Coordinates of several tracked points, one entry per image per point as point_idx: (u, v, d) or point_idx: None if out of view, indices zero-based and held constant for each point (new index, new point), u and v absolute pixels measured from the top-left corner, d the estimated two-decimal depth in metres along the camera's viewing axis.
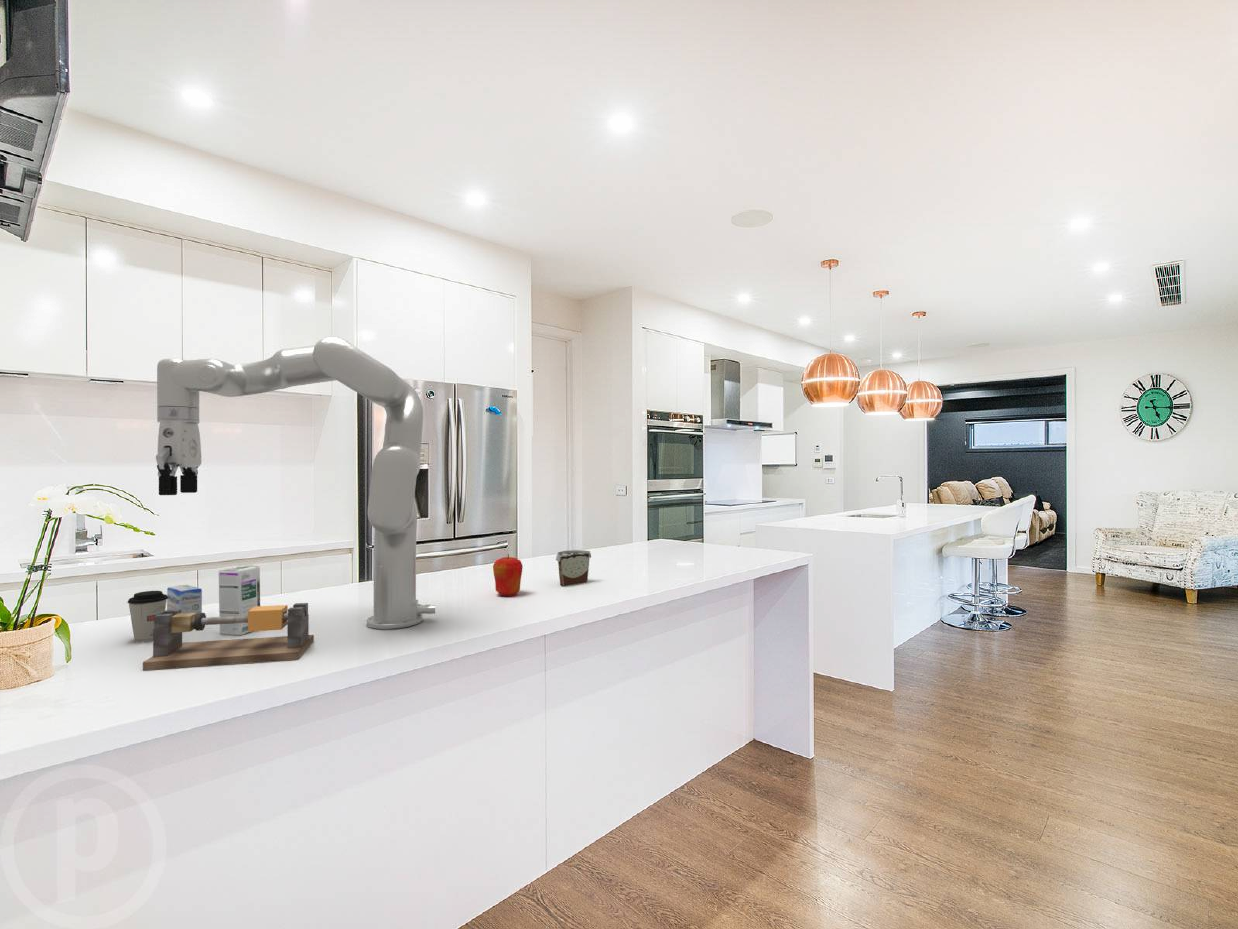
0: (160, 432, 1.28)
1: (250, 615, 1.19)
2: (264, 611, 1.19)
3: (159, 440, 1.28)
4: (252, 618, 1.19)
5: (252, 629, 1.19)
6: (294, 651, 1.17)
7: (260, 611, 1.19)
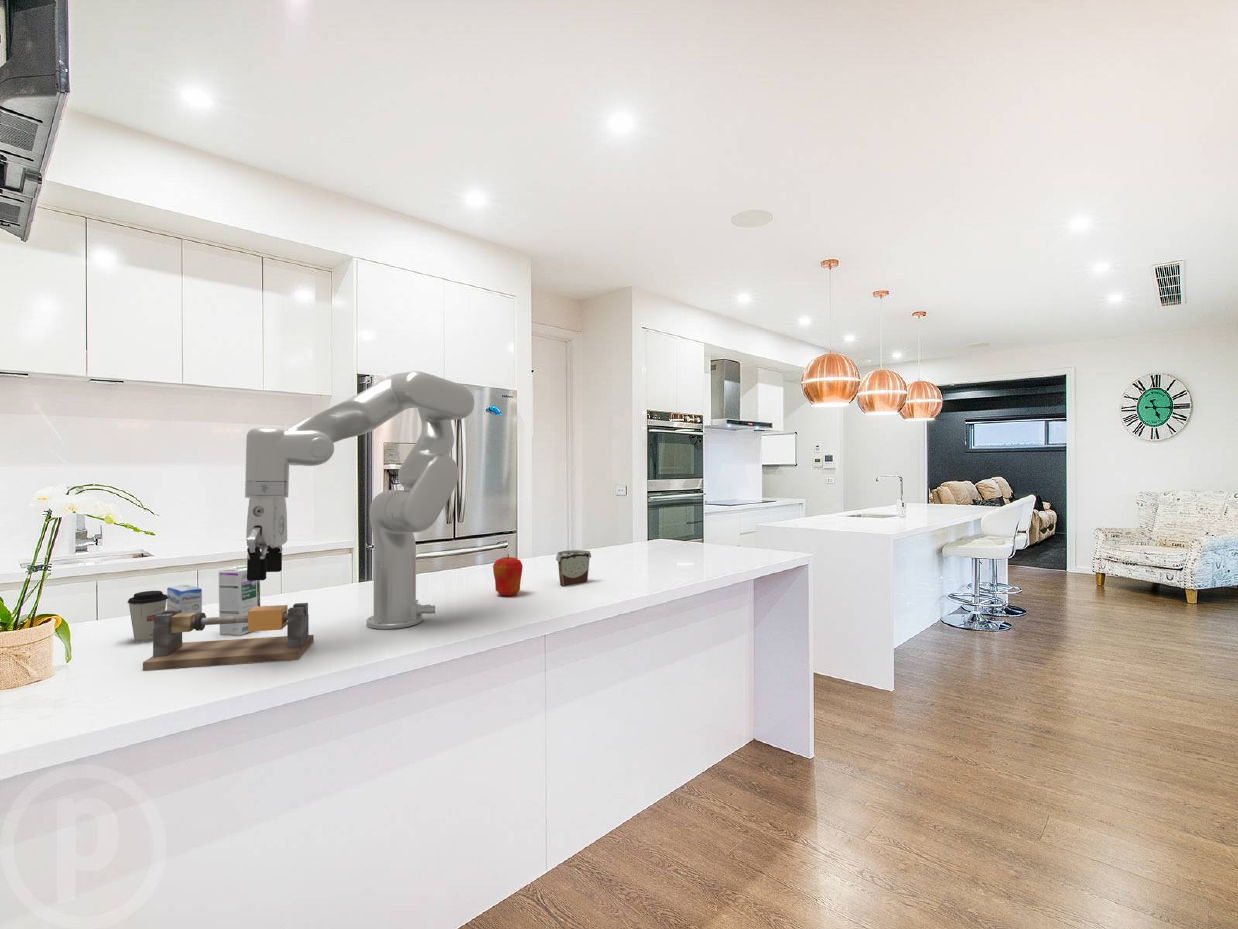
0: (250, 510, 1.16)
1: (250, 615, 1.19)
2: (264, 611, 1.19)
3: (249, 519, 1.16)
4: (252, 618, 1.19)
5: (252, 629, 1.19)
6: (294, 651, 1.17)
7: (260, 611, 1.19)
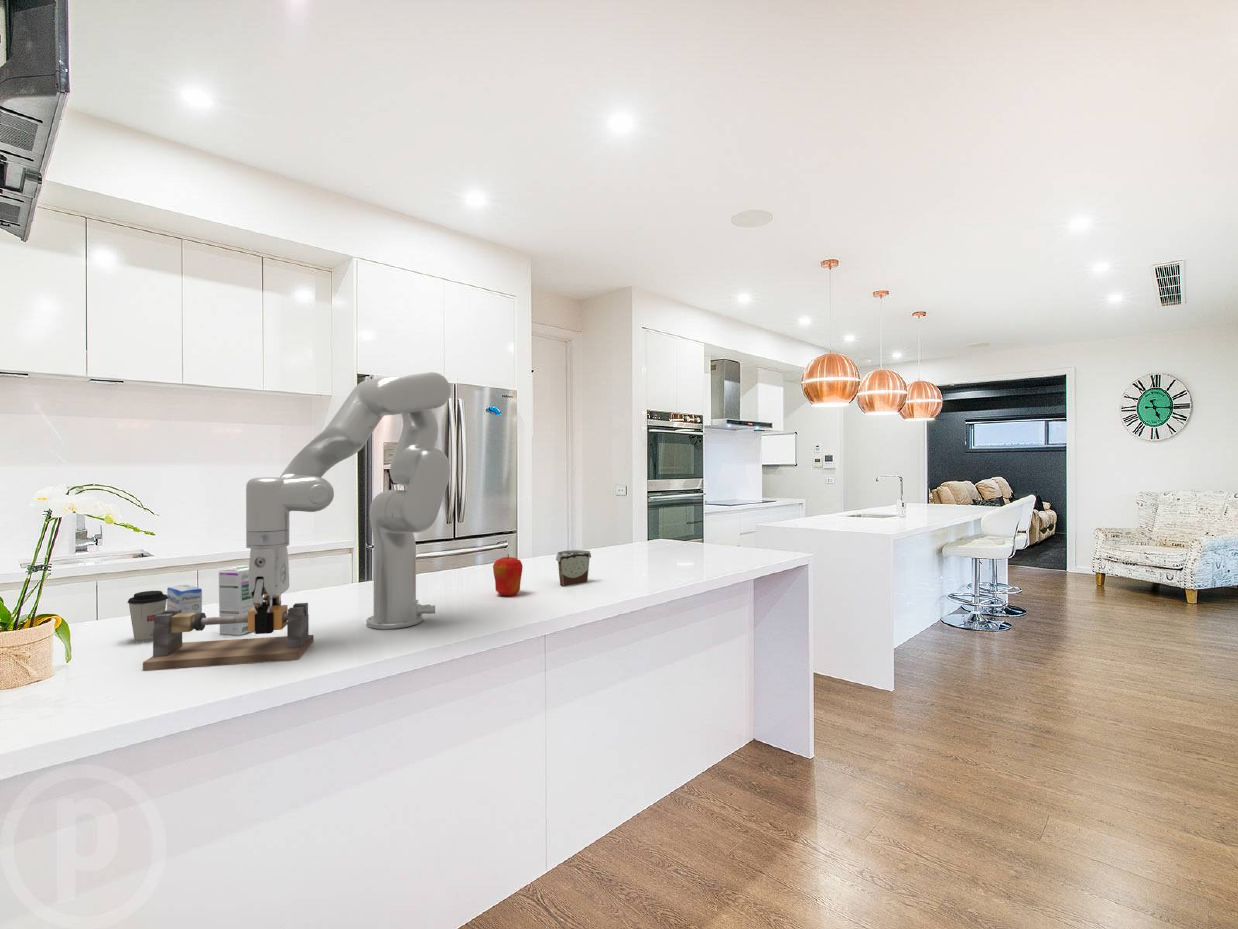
0: (251, 561, 1.16)
1: (250, 615, 1.19)
2: None
3: (250, 570, 1.16)
4: (252, 618, 1.19)
5: (252, 629, 1.19)
6: (294, 651, 1.17)
7: None
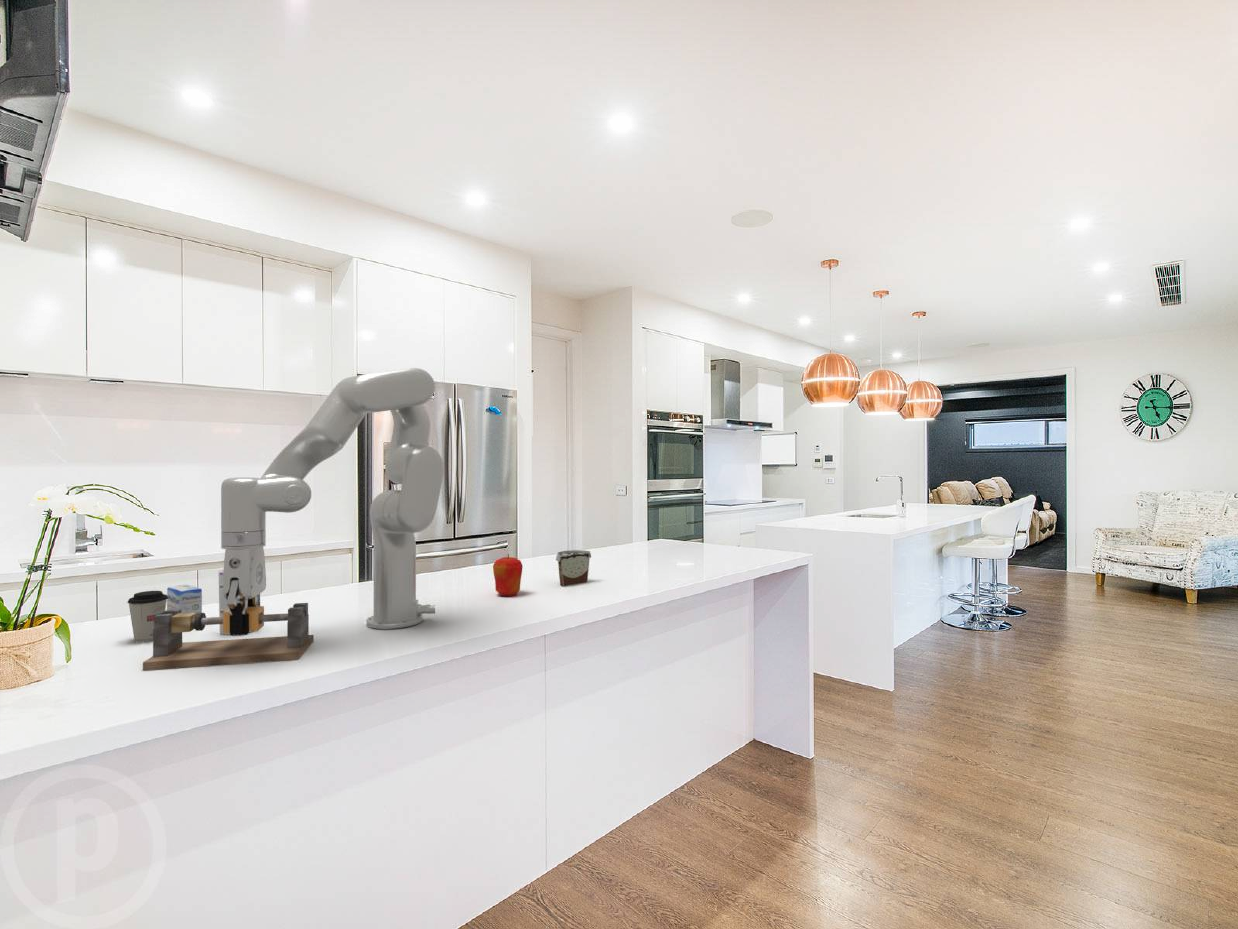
0: (226, 562, 1.15)
1: (225, 616, 1.18)
2: None
3: (225, 571, 1.15)
4: (227, 619, 1.18)
5: (227, 630, 1.18)
6: (294, 651, 1.17)
7: None
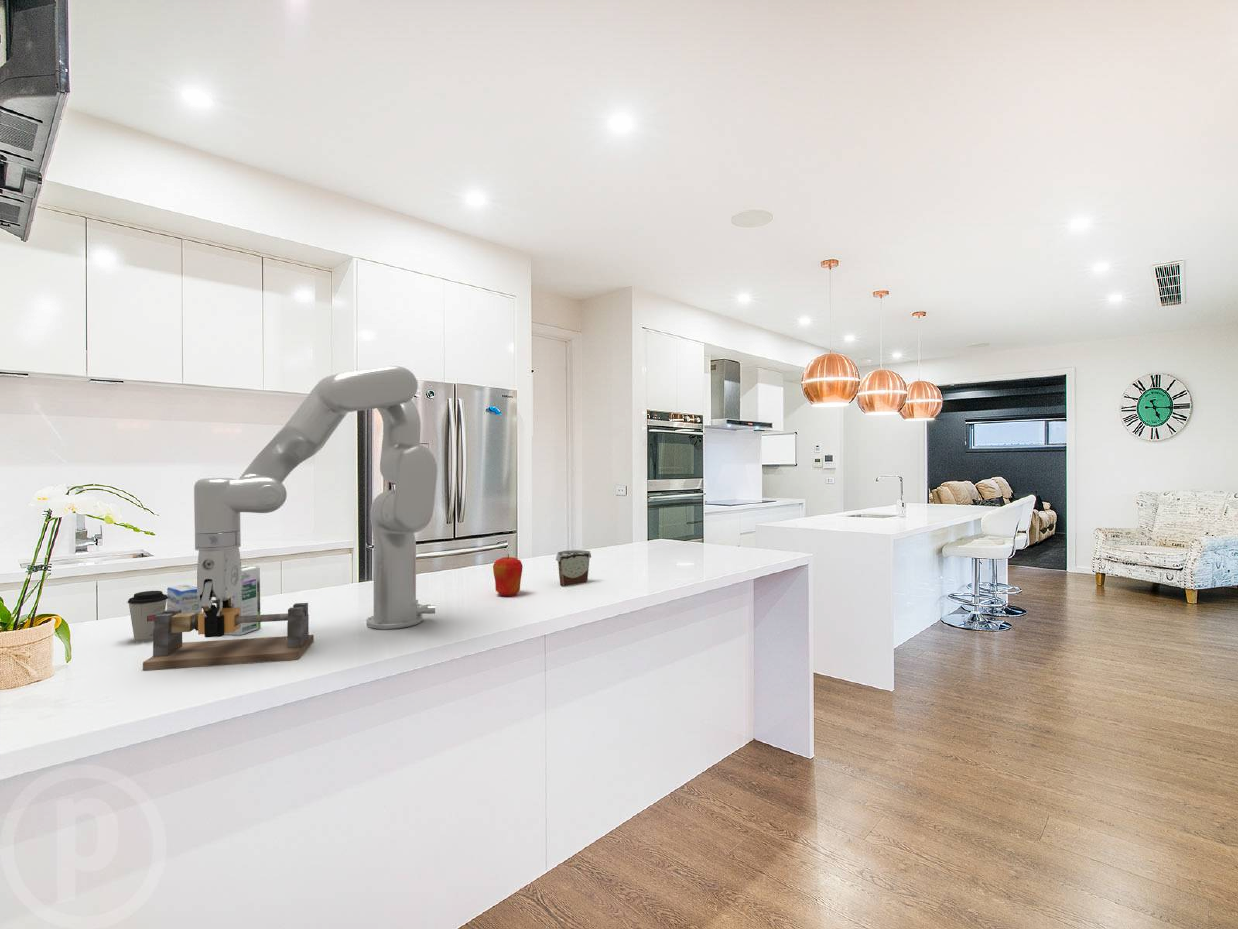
0: (199, 564, 1.14)
1: (200, 618, 1.16)
2: None
3: (198, 573, 1.14)
4: (202, 620, 1.17)
5: (202, 632, 1.17)
6: (294, 651, 1.17)
7: None
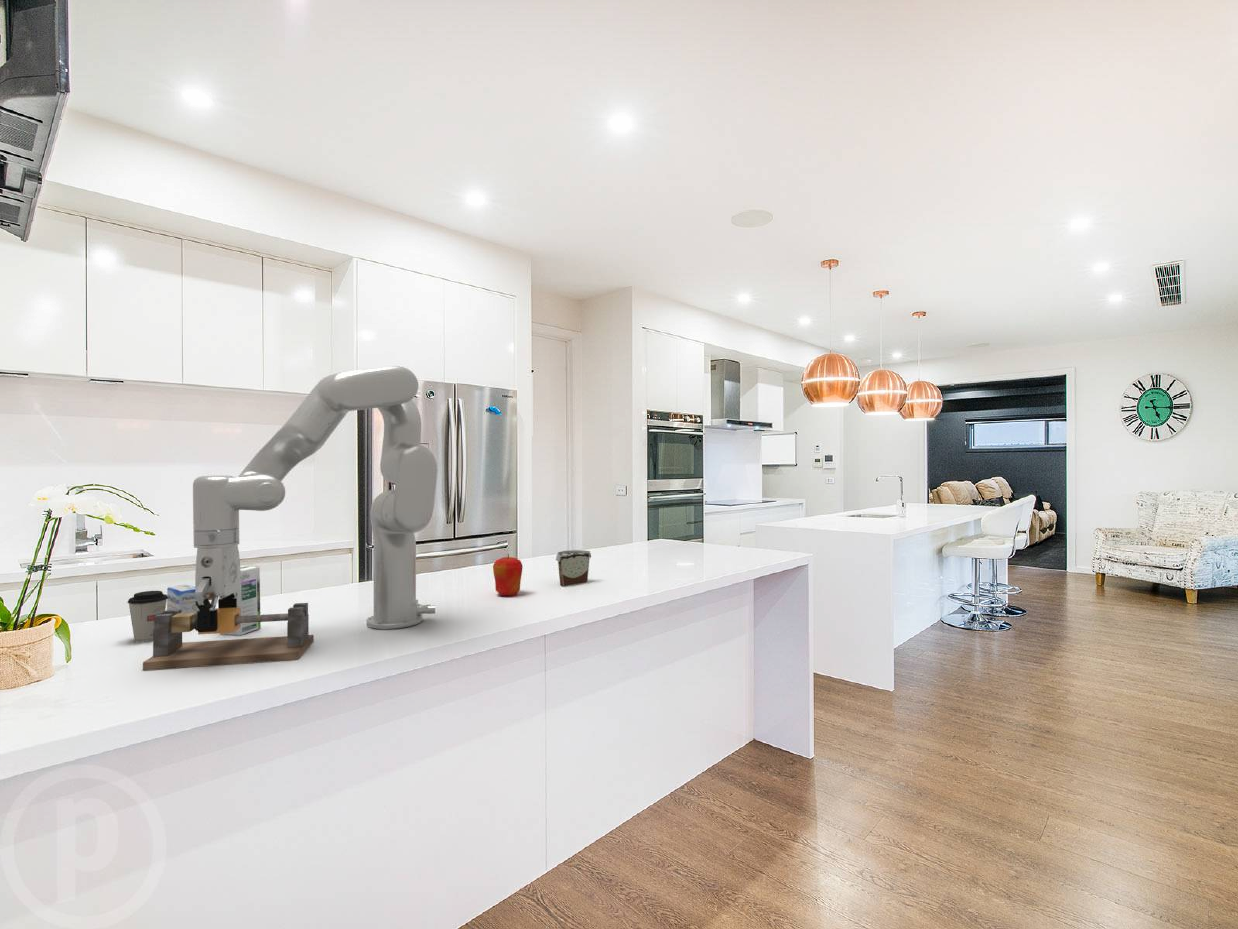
0: (198, 561, 1.14)
1: None
2: None
3: (197, 570, 1.14)
4: None
5: (202, 632, 1.17)
6: (294, 651, 1.17)
7: None
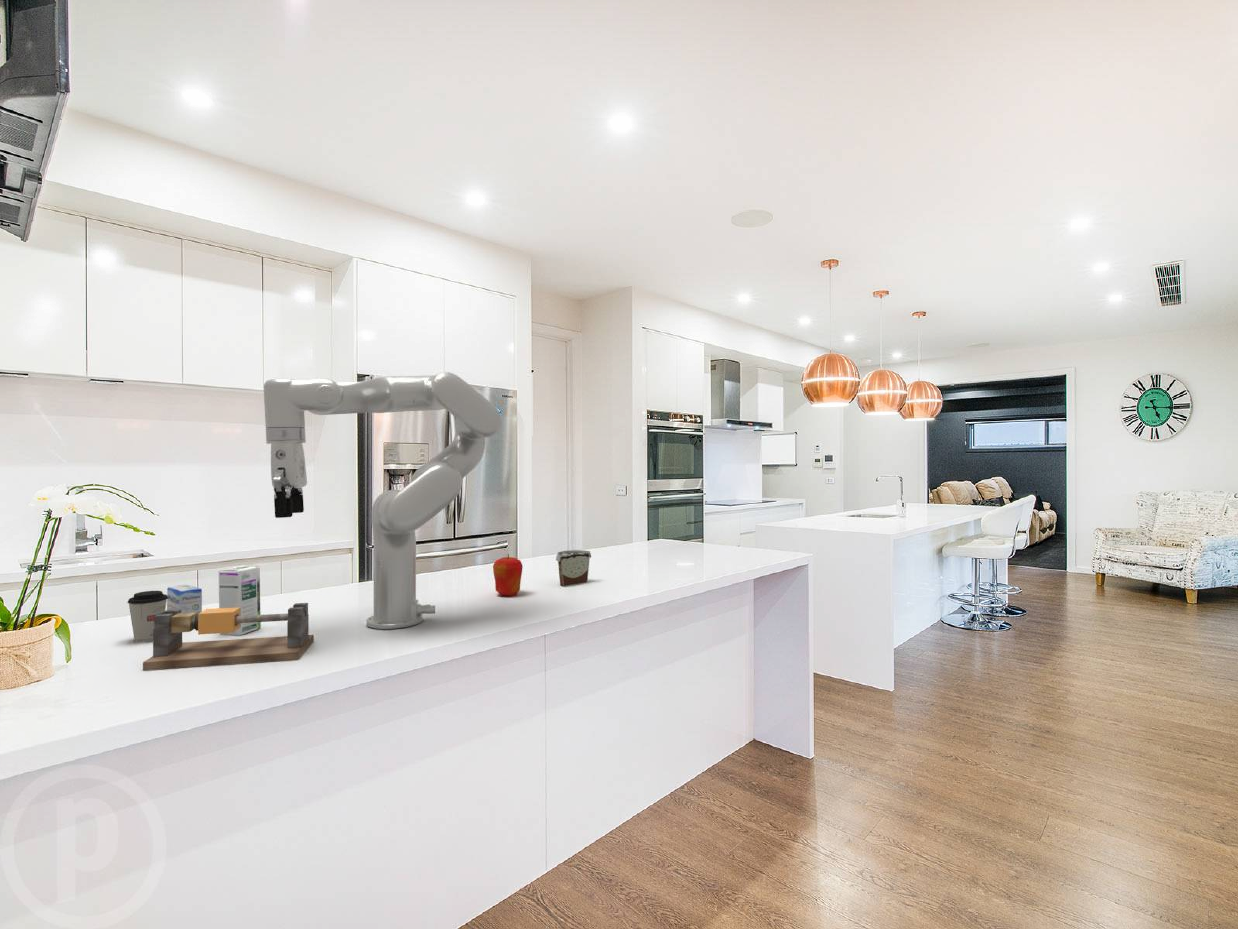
0: (273, 454, 1.26)
1: (200, 618, 1.16)
2: (215, 614, 1.17)
3: (272, 462, 1.26)
4: (202, 620, 1.17)
5: (202, 632, 1.17)
6: (294, 651, 1.17)
7: (211, 614, 1.17)
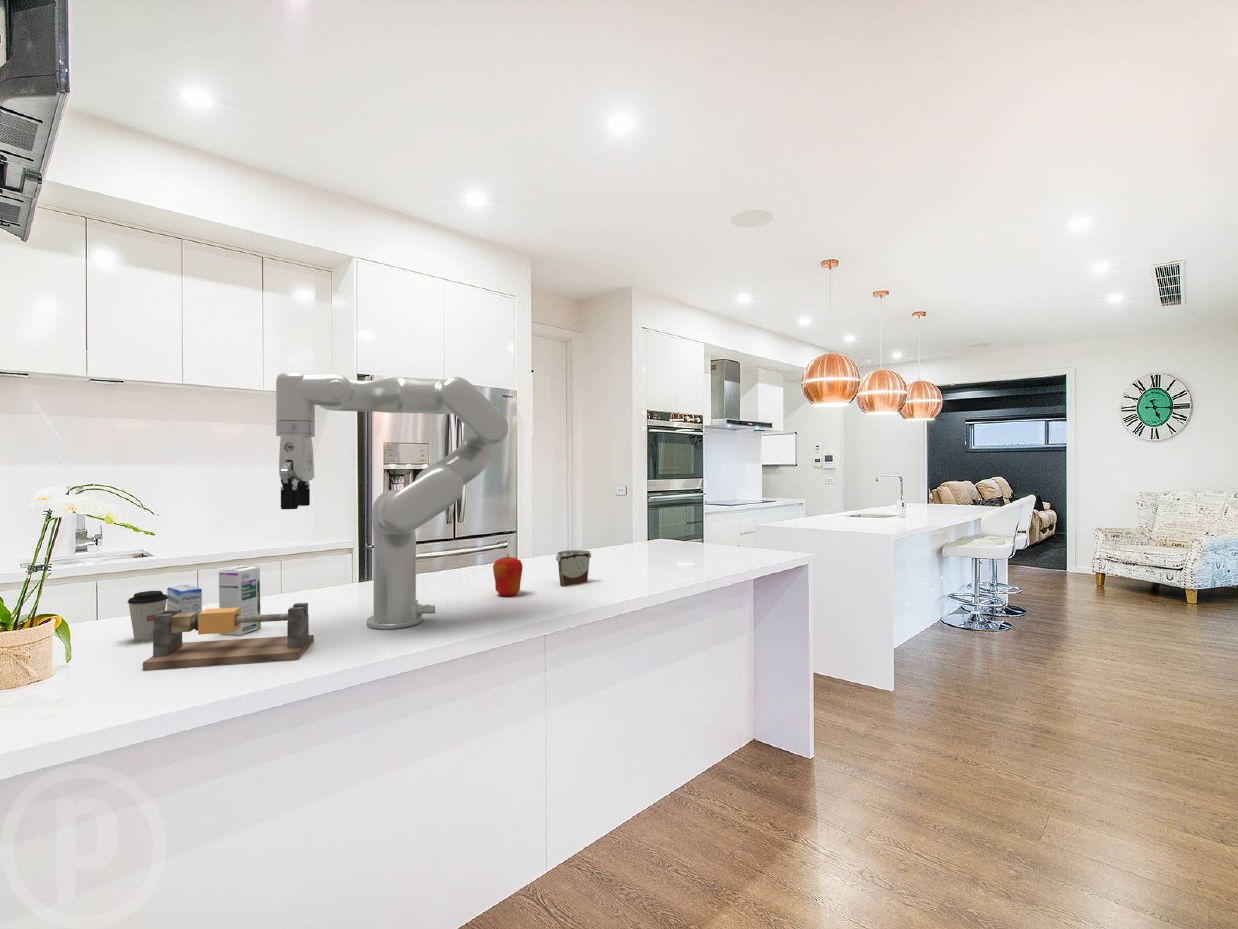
0: (281, 446, 1.28)
1: (200, 618, 1.16)
2: (215, 614, 1.17)
3: (281, 454, 1.28)
4: (202, 620, 1.17)
5: (202, 632, 1.17)
6: (294, 651, 1.17)
7: (211, 614, 1.17)
